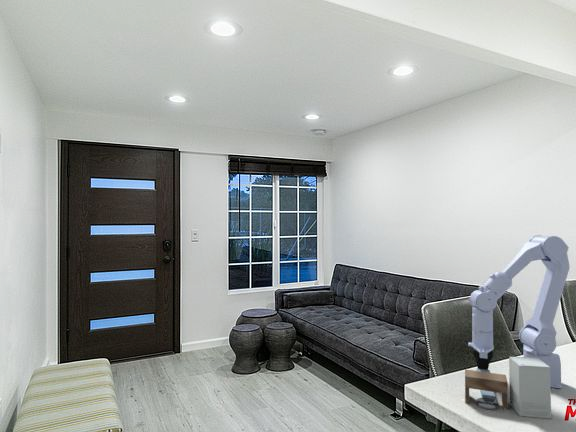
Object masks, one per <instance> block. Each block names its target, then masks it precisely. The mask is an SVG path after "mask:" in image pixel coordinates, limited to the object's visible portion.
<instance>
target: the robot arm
mask: <svg viewBox="0 0 576 432" xmlns="http://www.w3.org/2000/svg"><path fill="white" fill-rule="evenodd" d="M568 252H569V246H568V244H567V243H566V242H565V241H564V240H563V239H562V238H561V237H559V236H555V235H551V236H549V235H548V236H547V235H541V234H540V235H538V234H537V235H533V236H532V237H530V239H529V240H528V241H526V242H525V243H524V244H523V246H522V247H521V249H520V250H519V252H517V254H516V255H515V256H514V258H513V259H511V261H510V262H509V263H508V264H507V266H505V268H504V269H503V270H502V271H495V272H494V273H491V274H489V278H488V279H487V280H486V282H485V283H484V284H483V285H479V286H478V289H477V290H474V291H473V292H471V294H470V297H469V298H468V302H469V304H470V305H471V306H472V309H471V310H472V314H471V317H472V318H471V324H472V325H471V327H472V328H471V331H472V332H471V333H472V335H471V336H472V340H471V342H470V341H469V342H467V343H468V345H467V346H468V347H471V348H473V349H472V354H473V357H474V360H475V362H476V368H477V369H485V370H489V367H490V363H491V362H492V360H493V357H494V352H493V350H494V348H495V346H494V309H496V308H497V306H498V300H499V299H500V298H501V297H502V296H503V295H504V294H505V293H506V292H507V291H508V290H509V289H510V288H511V287H512V285H513V279H514V278H515V277H516V276H517V275H518V274H520V273H521V271H523V270H524V269H525V268H527V266H528V265H529V264H530V263H531V262H534V261H539V260H540V261H541V262H542V263H543V265H544V266H545V268H546V270H545V274H544V275H543V281H542V283H541V287H540V290H539V294H538V295H537V297H538V298H537V301H536V303H535V306H534V309H533V314H532V316H530V318H528V319H527V320H526V322H525V324H524V326H523V327H522V328H521V329H520V331H519V333H518V334H519V335H518V337H519V340H520V342H521V344H523V349H522V350H523V357H529V358H539V359H540V360H541V361H543V362H544V363H545V364H547V365H548V366H549V367H550V381H551V388H553V389H554V388H555V389H563V387H562V362H561V357H560V355H559V354H558V353H553V352H554V351H555V350H556V349H557V340H556V336H557V331H556V330H557V329H555V326H554V320H555V317H556V315H557V311H558V308H559V304H560V301H561V298H562V294H563V291H564V287H565V284H566V281H567V278H568V274H569V271H570V266H571V265H570V261H569V257H568Z"/></svg>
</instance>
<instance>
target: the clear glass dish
mask: <svg viewBox="0 0 576 432" xmlns="http://www.w3.org/2000/svg"><path fill="white" fill-rule="evenodd" d="M476 406H477V407H478V408H480V409H482V410H484V411H492V412H493V411H497V410H498V409H499V403H498V401H497V400H496V399H495V400H492V399H489V398H482V397H478V398H477V399H476Z"/></svg>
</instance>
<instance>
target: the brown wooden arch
mask: <svg viewBox="0 0 576 432" xmlns="http://www.w3.org/2000/svg"><path fill="white" fill-rule="evenodd" d="M508 386H509V385H508V380H507V375H506V374H503V373H502V374H501V373H496V372H495V373H494V372H490V373H488V372H481V371H477V370H473V369H467V368H465V369H464V399H465V400H464V402H465V403H466V404H470V389H472V390H479V391H480V390H484V391H491V392H494V393H499V394H501V404H502V409H503V410H509V402H508V401H509V398H508V397H509V394H508V393H509V389H508V388H509V387H508Z"/></svg>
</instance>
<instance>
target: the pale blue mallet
mask: <svg viewBox="0 0 576 432" xmlns="http://www.w3.org/2000/svg"><path fill="white" fill-rule="evenodd" d="M476 371H481V372H488V373H491V371H490V369H488V370H485V369H478V368H476ZM479 391H480V394H481V395H480V396H481V398H489V399H492V400H495V401H496V394H495V392H491V391H484V390H479Z"/></svg>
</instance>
